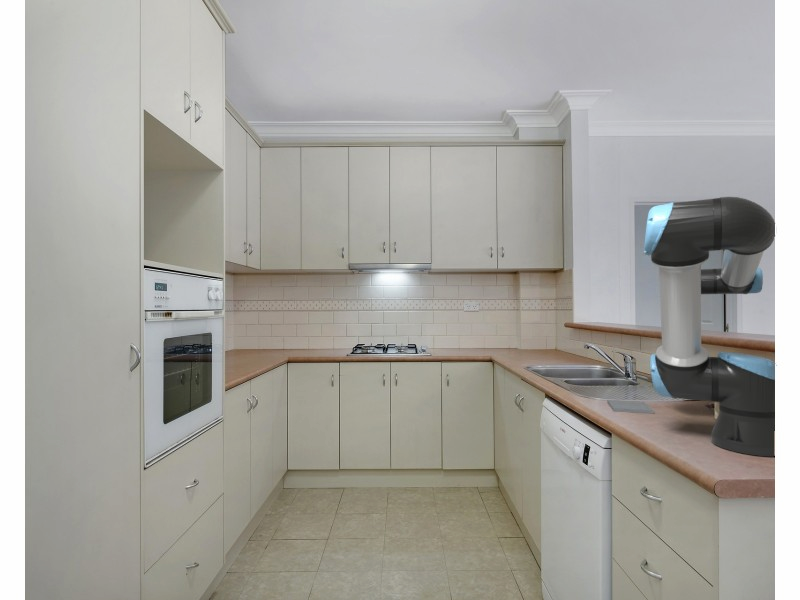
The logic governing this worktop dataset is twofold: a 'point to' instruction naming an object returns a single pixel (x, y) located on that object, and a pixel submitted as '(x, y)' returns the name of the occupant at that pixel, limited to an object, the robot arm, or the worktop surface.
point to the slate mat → (629, 406)
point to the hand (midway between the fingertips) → (685, 382)
